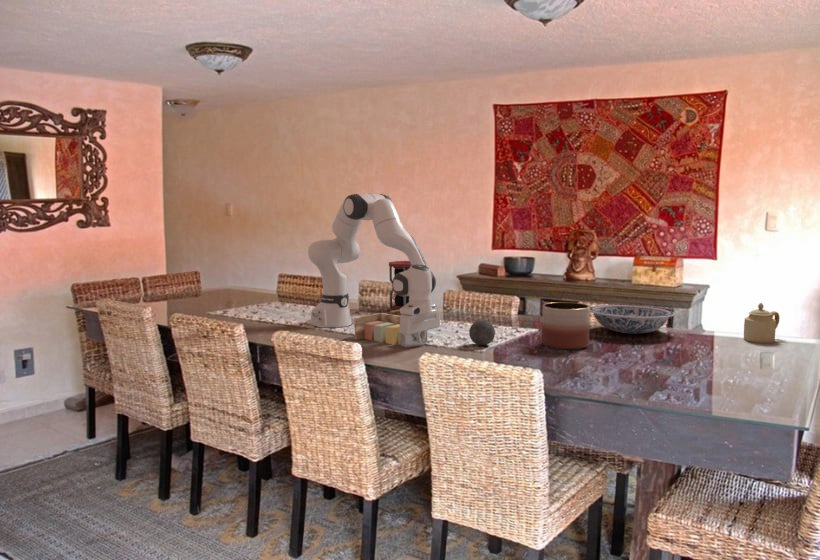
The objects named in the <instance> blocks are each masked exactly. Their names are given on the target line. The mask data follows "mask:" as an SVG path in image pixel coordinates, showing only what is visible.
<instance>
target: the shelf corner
mask: <svg viewBox="0 0 820 560" xmlns="http://www.w3.org/2000/svg"><path fill="white" fill-rule="evenodd" d="M385 313H386V312H378V313H377V312H376V313H373V314H369V315H363V316H357V317H354V340H356V341H358V340H363V339H365V335H364V323H369V322H374V321H383V322H385V323H386V322H389V323H395V325H397V324H400V316H398V315H391V314H385ZM425 342H426V343H428V333H427V334H426V336H425ZM425 342H424V343H425Z"/></svg>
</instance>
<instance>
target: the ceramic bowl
mask: <svg viewBox="0 0 820 560" xmlns="http://www.w3.org/2000/svg"><path fill="white" fill-rule="evenodd" d="M589 313H592V314H593V316H594V318H595V320H596V321H597V322H598V323H599V324H600V325H601V326H602V327H604V328H605V329H607V330H611V331H613V332H618V333H622V334H624V333H625V334H629V335H630V334H631V335H634V334H646V333H647V334H648V333H652V332H655V331H657V330H659V329H660V328H661V329H662V327H663V326H664V325H665V324H666V323H667V322H668V320H669V318H672V317H674V316H675V315H676V314H675V312H674V311H672V310H668V309H664V308H659V307H653V306H645V305H644V306H643V305H630V304H629V305H628V304H625V305H624V304H603V305H602V304H601V305H595V306H591V307H590V306H589Z"/></svg>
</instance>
